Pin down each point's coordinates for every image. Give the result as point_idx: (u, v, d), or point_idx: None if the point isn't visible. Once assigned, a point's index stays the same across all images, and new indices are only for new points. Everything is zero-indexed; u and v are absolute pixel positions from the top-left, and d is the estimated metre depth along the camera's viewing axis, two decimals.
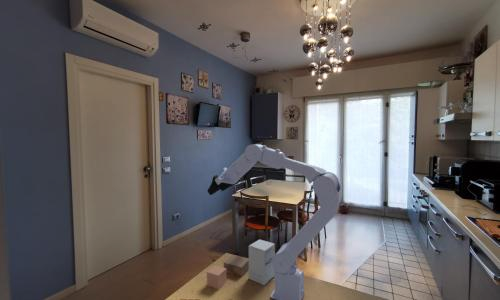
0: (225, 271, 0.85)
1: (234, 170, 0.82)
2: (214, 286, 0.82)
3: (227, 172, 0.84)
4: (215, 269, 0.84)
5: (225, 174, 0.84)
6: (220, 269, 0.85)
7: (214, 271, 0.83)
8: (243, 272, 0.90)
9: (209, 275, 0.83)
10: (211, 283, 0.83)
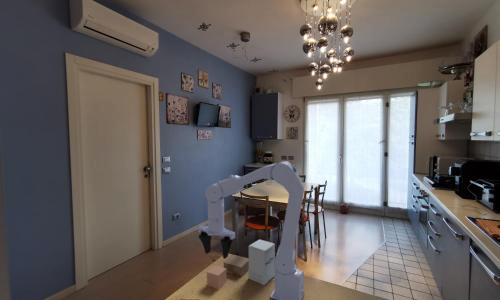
0: (225, 271, 0.85)
1: (223, 219, 0.82)
2: (214, 286, 0.82)
3: (220, 228, 0.81)
4: (215, 269, 0.84)
5: (220, 231, 0.82)
6: (220, 269, 0.85)
7: (214, 271, 0.83)
8: (243, 272, 0.90)
9: (209, 275, 0.83)
10: (211, 283, 0.83)
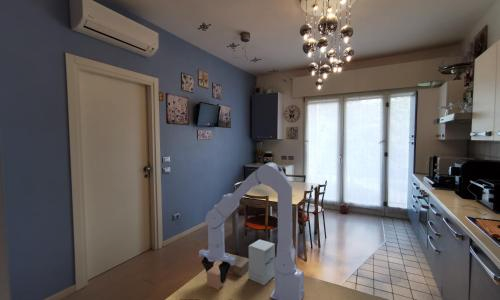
0: None
1: (223, 244, 0.83)
2: (214, 286, 0.82)
3: (220, 253, 0.82)
4: (215, 269, 0.84)
5: (221, 257, 0.82)
6: None
7: (214, 271, 0.83)
8: (243, 272, 0.90)
9: (209, 274, 0.83)
10: (211, 283, 0.83)
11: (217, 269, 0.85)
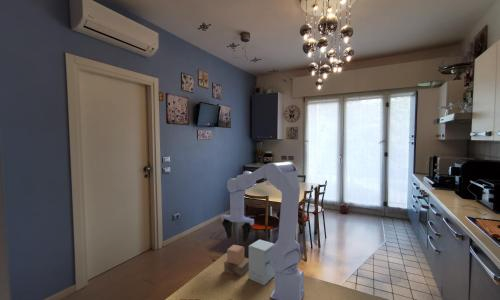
0: (243, 249, 0.94)
1: (243, 208, 0.96)
2: (234, 262, 0.91)
3: (241, 215, 0.95)
4: (234, 248, 0.93)
5: (241, 218, 0.95)
6: (238, 247, 0.94)
7: (233, 249, 0.92)
8: (243, 272, 0.90)
9: (229, 252, 0.92)
10: (231, 259, 0.91)
11: (236, 247, 0.93)
